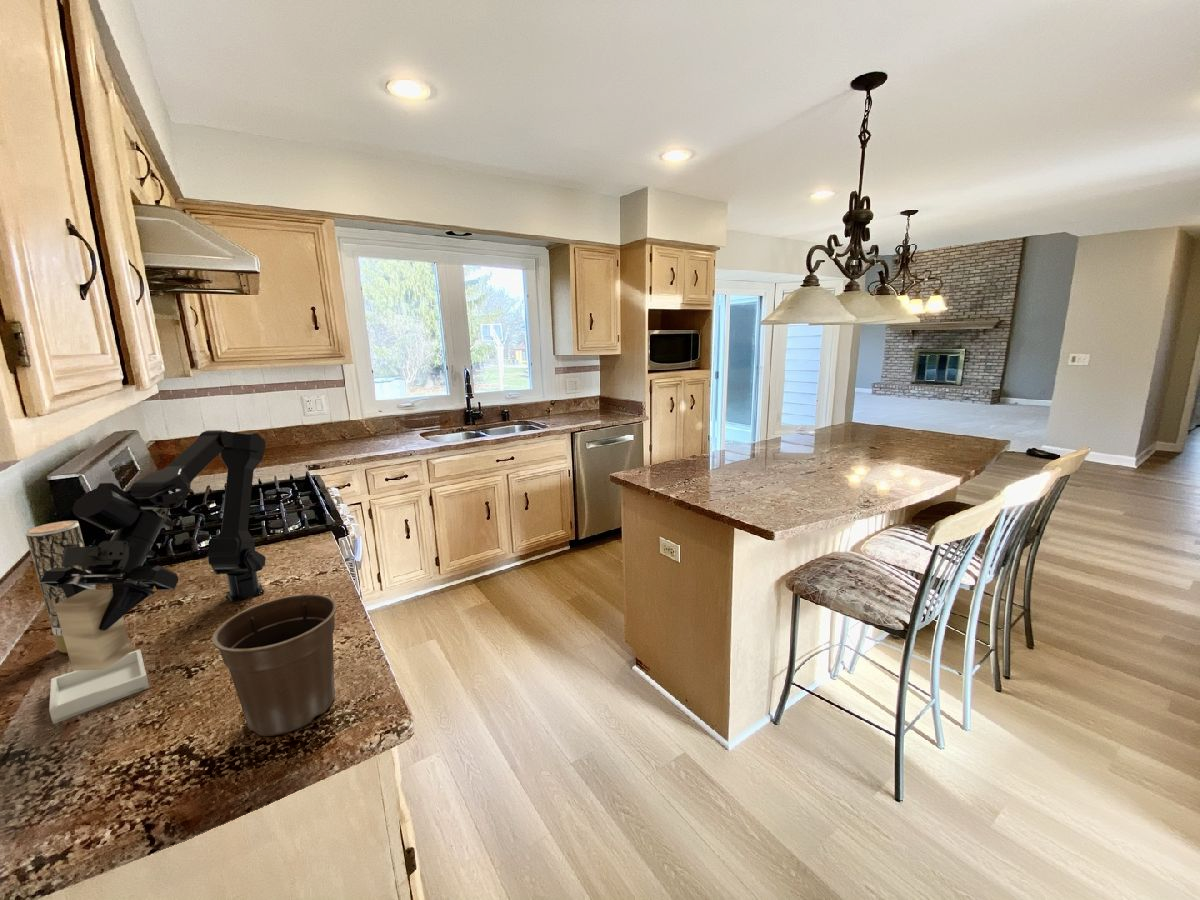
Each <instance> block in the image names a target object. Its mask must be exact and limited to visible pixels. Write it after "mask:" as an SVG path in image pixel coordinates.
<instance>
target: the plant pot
mask: <svg viewBox="0 0 1200 900" xmlns="http://www.w3.org/2000/svg"><path fill="white" fill-rule="evenodd" d="M337 605H338V604H337V602H336V600H335V599H334V598H332V597H330V596H327V595H324V594H319V593H301V594H300V593H299V594H294V595H293V594H292V595H288V596H287V595H286V596H284V597H283V596H282V597H279V598H274V599H271V600H267V601H265V602H262V603H259V604H256V605H253V606H251V607H249V608H246V609H244V610H242V611H240V612H238V613H236V614H234V615H233V616H231V617H230V618H228V619H227V620H226V621H224V622H223V623H222V624H220V625H219V626H218V627H217V628H216V630H215V631H214V633H213V634H212V638H211V641H212V643H213V646H214V647H215V648H216V649H217V650H219V653H220V655H221V658H222V659H221V660H222V662H223V664H224V665H225V666H226V667H227V668H228V671H229V674H230V676H231V678H232V682H233V684H234V688H235V691H236V694H237V697H238V700H239V703H240V706H241V709H242V713H243V716H244V719H245V722H246V726H247V728H248V731H249V732H252V731H253V732H254V733H256V735H257V736H261V737H262V736H263V737H264V736H265V737H269V736H270V737H272V736H278V735H283V734H287V733H290V732H293V731H296V730H298V729H301V728H303V727H305V726H307V725H309V724H311V723H312V721H313V720H314V719H315V718H316V717H317V716H320V715H323V714H324V713H325V712H326V711H327V710H328V709H330V707H331V705H332V704H333V701H334V700H335V696H336V688H335V687H336V686H335V685H336V684H335V683H336V682H335V663H334V662H335V661H334V632H335V629H336V627H335V625H336V624H335V614H336V612H337Z"/></svg>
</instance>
